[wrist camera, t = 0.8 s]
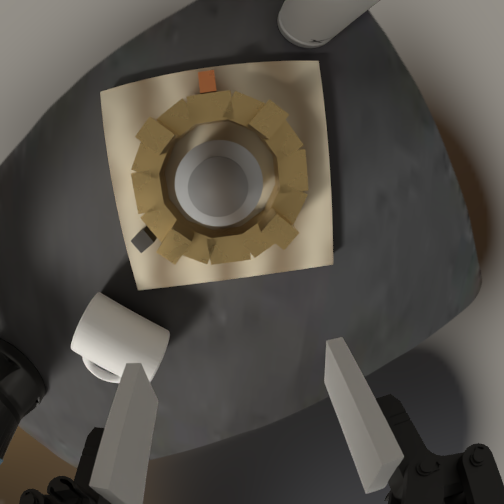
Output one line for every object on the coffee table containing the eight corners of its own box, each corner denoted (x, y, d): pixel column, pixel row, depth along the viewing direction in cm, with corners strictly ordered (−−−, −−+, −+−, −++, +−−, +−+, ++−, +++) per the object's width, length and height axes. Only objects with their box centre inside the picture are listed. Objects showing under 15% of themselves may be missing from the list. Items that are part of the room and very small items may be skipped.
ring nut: (157, 262, 30) (146, 284, 26) (128, 92, 24) (109, 84, 19) (305, 242, 31) (319, 261, 26) (289, 70, 25) (302, 56, 20)
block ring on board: (142, 282, 34) (119, 328, 25) (107, 94, 26) (65, 80, 17) (327, 257, 35) (359, 297, 26) (313, 65, 27) (346, 39, 18)
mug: (105, 280, 33) (79, 315, 26) (174, 319, 36) (164, 361, 29) (80, 342, 36) (60, 378, 29) (140, 374, 39) (129, 414, 32)
